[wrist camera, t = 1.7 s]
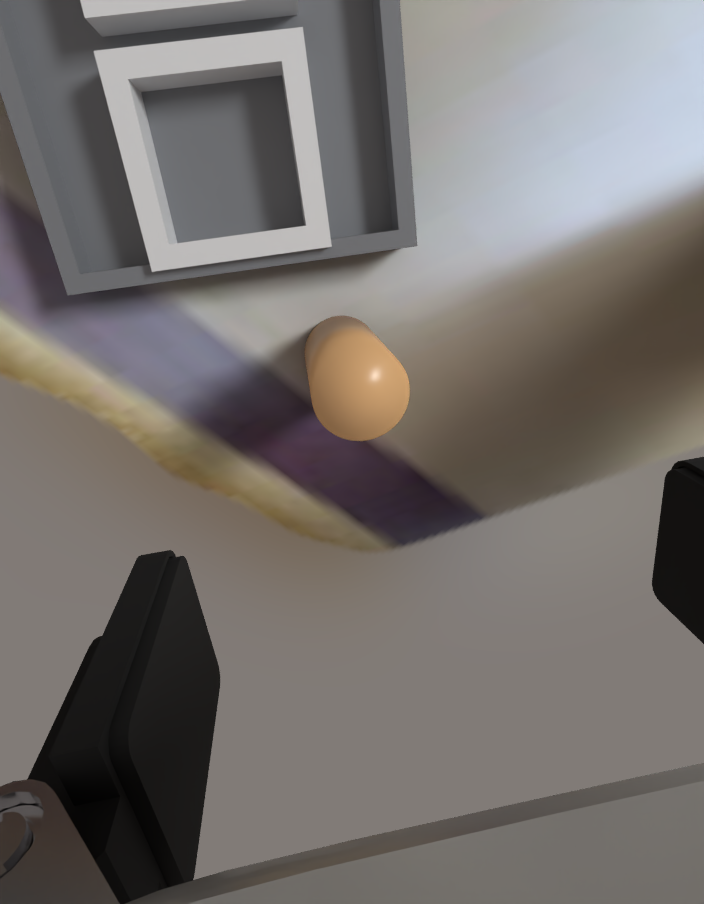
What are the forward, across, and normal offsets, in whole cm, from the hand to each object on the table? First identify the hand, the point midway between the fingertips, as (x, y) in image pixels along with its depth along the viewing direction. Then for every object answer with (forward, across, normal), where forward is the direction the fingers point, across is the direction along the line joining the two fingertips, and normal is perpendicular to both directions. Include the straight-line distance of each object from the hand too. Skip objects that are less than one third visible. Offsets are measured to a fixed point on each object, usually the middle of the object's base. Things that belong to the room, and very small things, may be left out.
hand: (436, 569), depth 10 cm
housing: (+20, +4, -14) cm, 25 cm away
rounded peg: (+20, 0, 0) cm, 20 cm away
